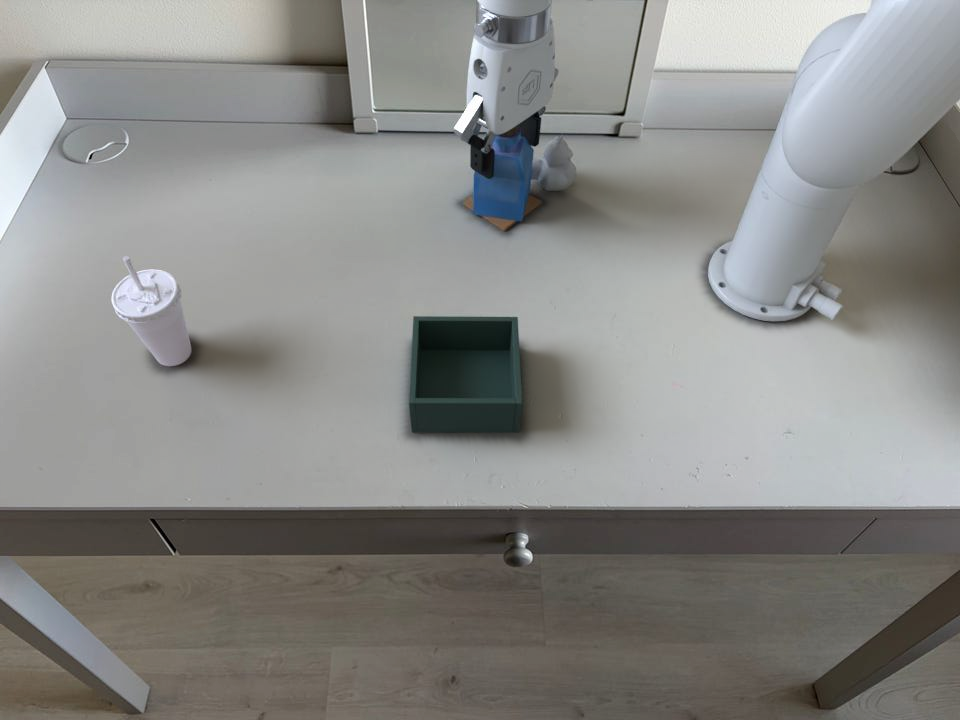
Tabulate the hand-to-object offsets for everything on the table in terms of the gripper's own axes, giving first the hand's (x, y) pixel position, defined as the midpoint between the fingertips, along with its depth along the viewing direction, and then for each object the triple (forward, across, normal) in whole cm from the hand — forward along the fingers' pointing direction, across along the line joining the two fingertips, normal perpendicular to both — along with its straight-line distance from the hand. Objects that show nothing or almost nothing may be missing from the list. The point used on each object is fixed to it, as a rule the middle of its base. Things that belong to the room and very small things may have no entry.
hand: (505, 155), depth 93 cm
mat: (+8, 0, 0) cm, 8 cm away
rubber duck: (+8, +7, -2) cm, 11 cm away
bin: (+8, -24, -16) cm, 30 cm away
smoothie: (+8, -42, +10) cm, 44 cm away
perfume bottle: (+7, 0, 0) cm, 7 cm away
